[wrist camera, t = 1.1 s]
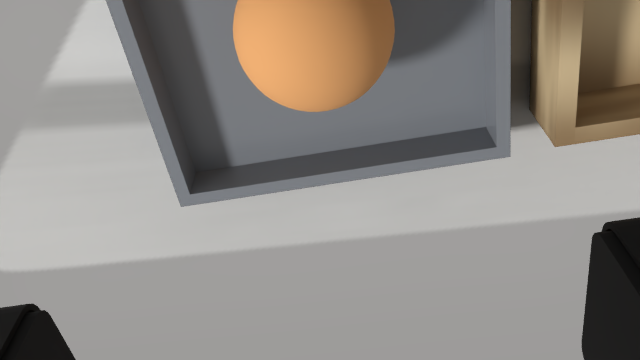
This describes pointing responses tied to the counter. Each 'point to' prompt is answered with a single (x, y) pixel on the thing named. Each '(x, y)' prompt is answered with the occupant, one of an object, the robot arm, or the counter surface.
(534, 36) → the tray
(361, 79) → the ball
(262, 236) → the counter surface
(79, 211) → the counter surface
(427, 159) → the container
